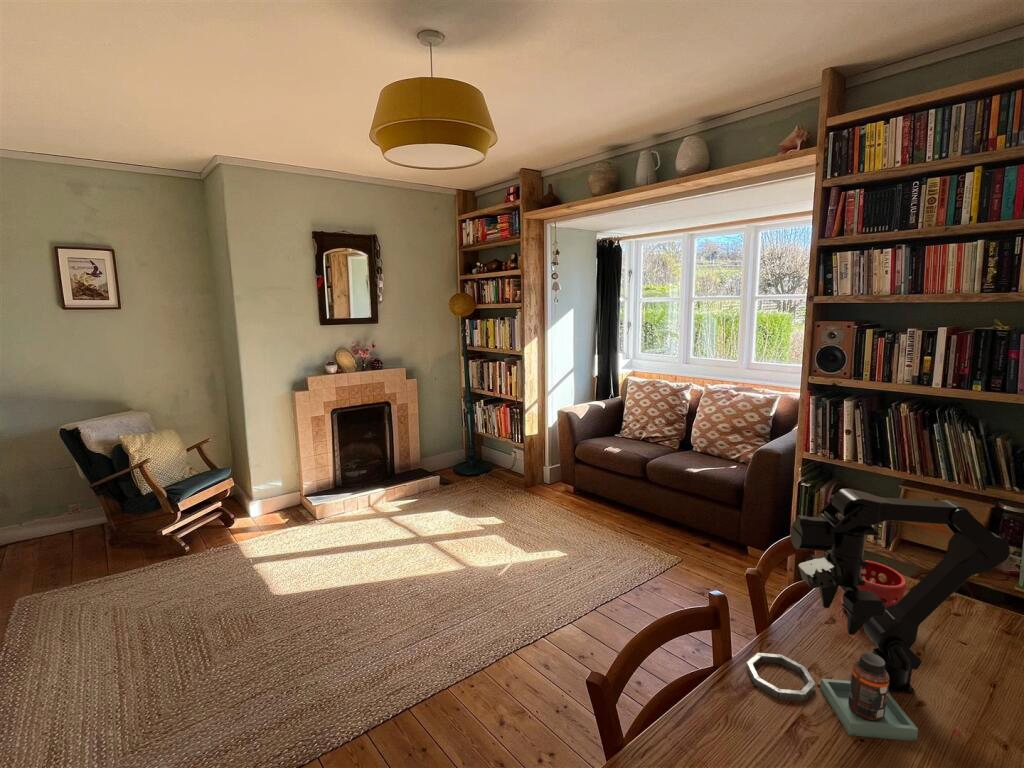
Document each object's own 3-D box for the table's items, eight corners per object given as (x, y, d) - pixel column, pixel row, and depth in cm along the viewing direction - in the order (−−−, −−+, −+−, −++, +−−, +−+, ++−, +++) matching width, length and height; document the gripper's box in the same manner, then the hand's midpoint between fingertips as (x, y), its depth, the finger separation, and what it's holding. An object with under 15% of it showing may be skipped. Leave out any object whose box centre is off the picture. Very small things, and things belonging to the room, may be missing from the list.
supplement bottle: (890, 725, 99) (898, 672, 97) (855, 720, 100) (862, 667, 98) (875, 701, 105) (882, 650, 103) (842, 697, 106) (849, 646, 104)
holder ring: (797, 661, 117) (797, 655, 117) (822, 702, 106) (823, 696, 105) (741, 657, 119) (741, 651, 118) (760, 697, 107) (760, 690, 106)
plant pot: (837, 618, 134) (842, 574, 132) (840, 594, 144) (845, 553, 142) (900, 637, 126) (907, 591, 124) (899, 611, 137) (905, 568, 135)
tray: (879, 694, 108) (881, 683, 108) (916, 741, 97) (918, 729, 96) (820, 689, 109) (821, 678, 109) (849, 735, 98) (850, 723, 97)
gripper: (785, 530, 118) (778, 594, 120) (832, 573, 99) (822, 648, 102) (836, 531, 117) (828, 596, 120) (892, 575, 99) (881, 650, 102)
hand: (837, 620), depth 111 cm, fingers open, 9 cm apart
